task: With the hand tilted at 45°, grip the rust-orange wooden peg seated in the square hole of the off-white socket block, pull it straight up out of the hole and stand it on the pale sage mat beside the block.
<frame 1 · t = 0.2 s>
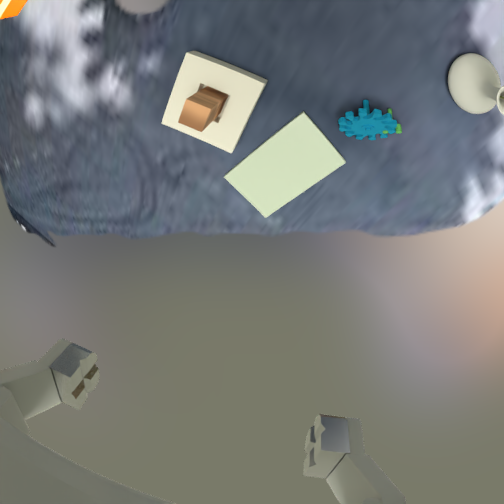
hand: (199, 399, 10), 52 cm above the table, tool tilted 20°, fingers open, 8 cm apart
flower in vase: (470, 77, 40), on the table
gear: (367, 119, 50), on the table
peg: (214, 99, 52), point 1 cm above the table, touching socket block
socket block: (215, 98, 53), on the table
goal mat: (283, 166, 59), on the table
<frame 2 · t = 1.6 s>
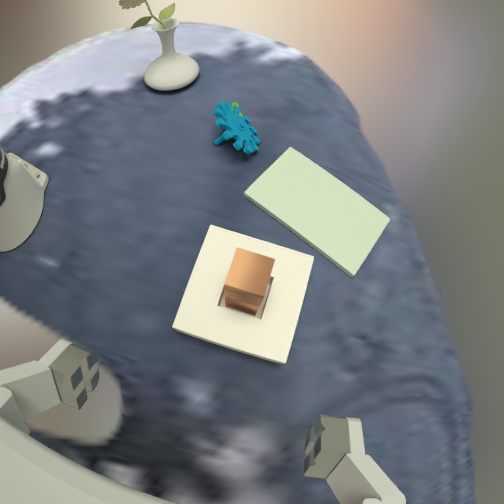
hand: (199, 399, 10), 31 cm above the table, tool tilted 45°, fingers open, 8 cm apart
flower in vase: (168, 80, 58), on the table
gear: (236, 140, 53), on the table
peg: (244, 296, 42), point 1 cm above the table, touching socket block
socket block: (244, 298, 43), on the table
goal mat: (319, 208, 49), on the table
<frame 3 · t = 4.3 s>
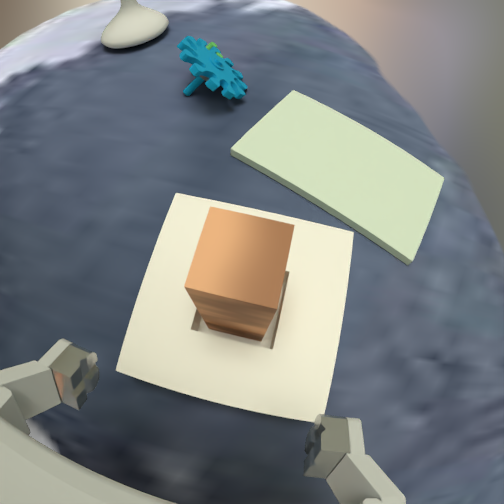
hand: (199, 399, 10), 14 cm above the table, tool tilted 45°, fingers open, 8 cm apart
flower in vase: (131, 39, 41), on the table
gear: (214, 89, 36), on the table
peg: (241, 310, 24), point 1 cm above the table, touching socket block
socket block: (241, 312, 25), on the table
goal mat: (345, 166, 31), on the table
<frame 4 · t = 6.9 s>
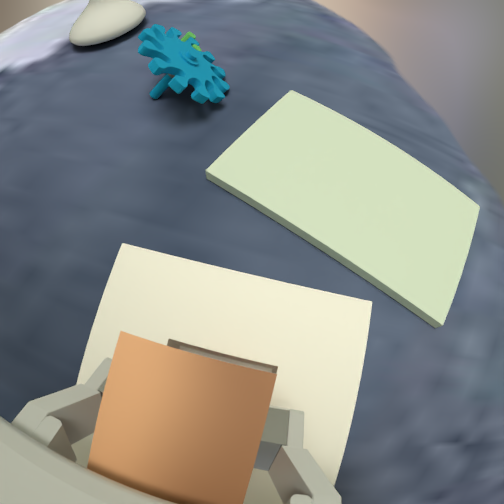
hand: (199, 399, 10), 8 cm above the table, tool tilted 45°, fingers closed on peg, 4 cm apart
flower in vase: (104, 35, 34), on the table
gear: (189, 90, 28), on the table
peg: (213, 402, 17), point 1 cm above the table, touching gripper, socket block
socket block: (215, 401, 18), on the table
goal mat: (359, 193, 24), on the table
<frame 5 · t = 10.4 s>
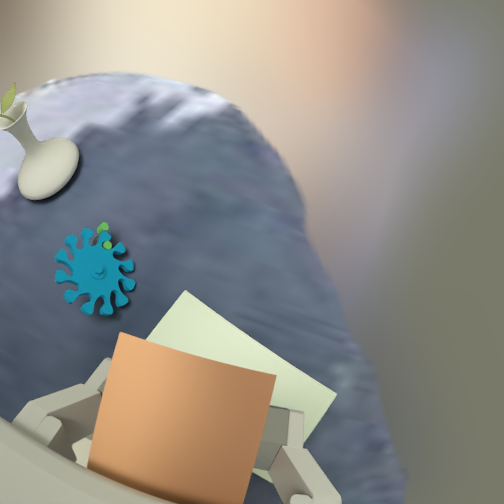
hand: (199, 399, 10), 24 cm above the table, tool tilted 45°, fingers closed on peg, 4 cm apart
flower in vase: (48, 177, 42), on the table
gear: (108, 278, 36), on the table
peg: (213, 403, 17), point 16 cm above the table, touching gripper
socket block: (135, 501, 26), on the table
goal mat: (226, 389, 32), on the table
when the fingers open (10 cm above the table, at t = 13.8 s): peg drops 1 cm, resting on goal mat.
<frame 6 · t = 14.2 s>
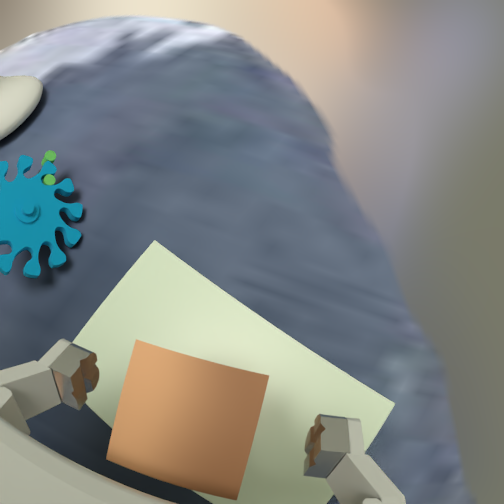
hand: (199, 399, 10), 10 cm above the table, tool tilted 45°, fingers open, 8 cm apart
flower in vase: (7, 121, 29), on the table
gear: (50, 230, 24), on the table
peg: (215, 401, 18), point 1 cm above the table, touching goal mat
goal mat: (217, 400, 19), on the table
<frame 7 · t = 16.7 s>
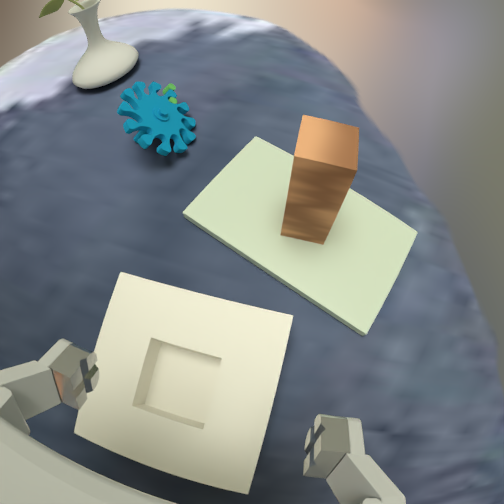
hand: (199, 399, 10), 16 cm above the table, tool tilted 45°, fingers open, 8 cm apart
flower in vase: (103, 76, 42), on the table
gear: (166, 136, 36), on the table
peg: (305, 221, 30), point 1 cm above the table, touching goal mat
socket block: (186, 383, 25), on the table
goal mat: (304, 226, 31), on the table
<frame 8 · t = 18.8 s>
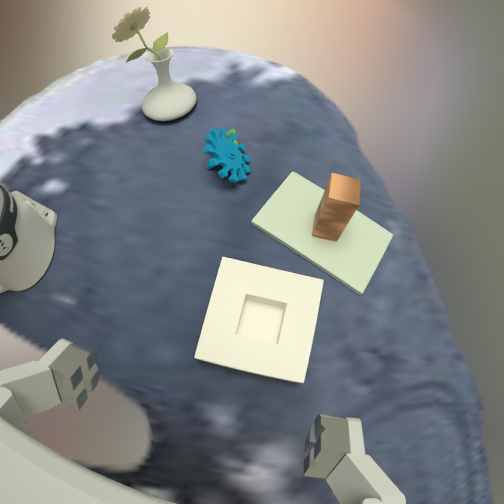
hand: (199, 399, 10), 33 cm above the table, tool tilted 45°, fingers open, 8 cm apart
flower in vase: (166, 109, 61), on the table
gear: (228, 166, 55), on the table
peg: (325, 227, 49), point 1 cm above the table, touching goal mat
socket block: (259, 324, 44), on the table
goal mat: (324, 230, 50), on the table
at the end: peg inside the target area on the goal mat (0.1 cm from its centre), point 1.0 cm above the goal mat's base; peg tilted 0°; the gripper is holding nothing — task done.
